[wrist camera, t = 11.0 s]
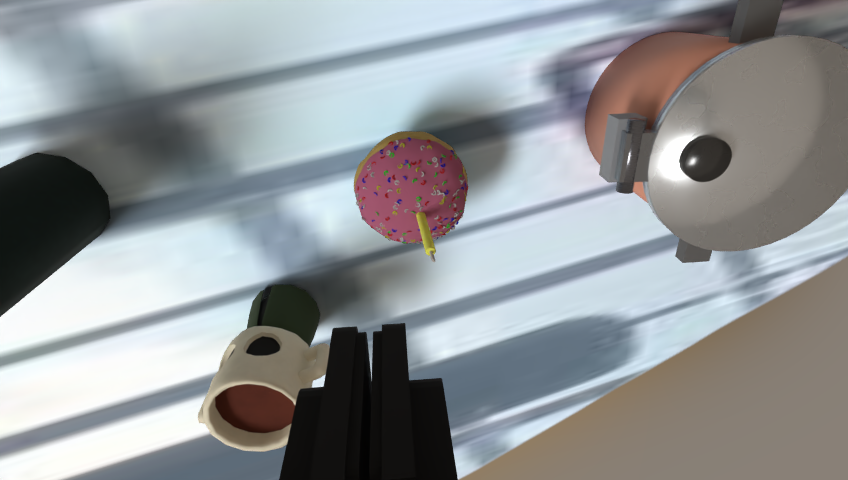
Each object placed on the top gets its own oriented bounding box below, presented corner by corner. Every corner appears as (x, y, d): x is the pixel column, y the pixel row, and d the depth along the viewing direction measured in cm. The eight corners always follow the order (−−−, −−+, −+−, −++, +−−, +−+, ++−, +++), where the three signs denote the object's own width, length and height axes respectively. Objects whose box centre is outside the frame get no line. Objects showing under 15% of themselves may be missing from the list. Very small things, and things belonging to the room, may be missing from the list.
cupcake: (476, 188, 41) (509, 256, 30) (390, 234, 42) (393, 314, 31) (429, 99, 37) (447, 140, 26) (336, 152, 38) (318, 212, 28)
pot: (573, -10, 34) (643, -13, 25) (760, -16, 35) (895, -20, 26) (549, 217, 42) (595, 278, 33) (701, 208, 43) (788, 266, 34)
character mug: (319, 257, 42) (295, 354, 31) (356, 315, 46) (347, 422, 34) (215, 303, 44) (155, 412, 32) (258, 356, 47) (217, 473, 35)
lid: (636, 38, 26) (650, 41, 24) (901, 31, 26) (933, 33, 24) (601, 247, 32) (611, 261, 30) (818, 241, 32) (839, 254, 30)
